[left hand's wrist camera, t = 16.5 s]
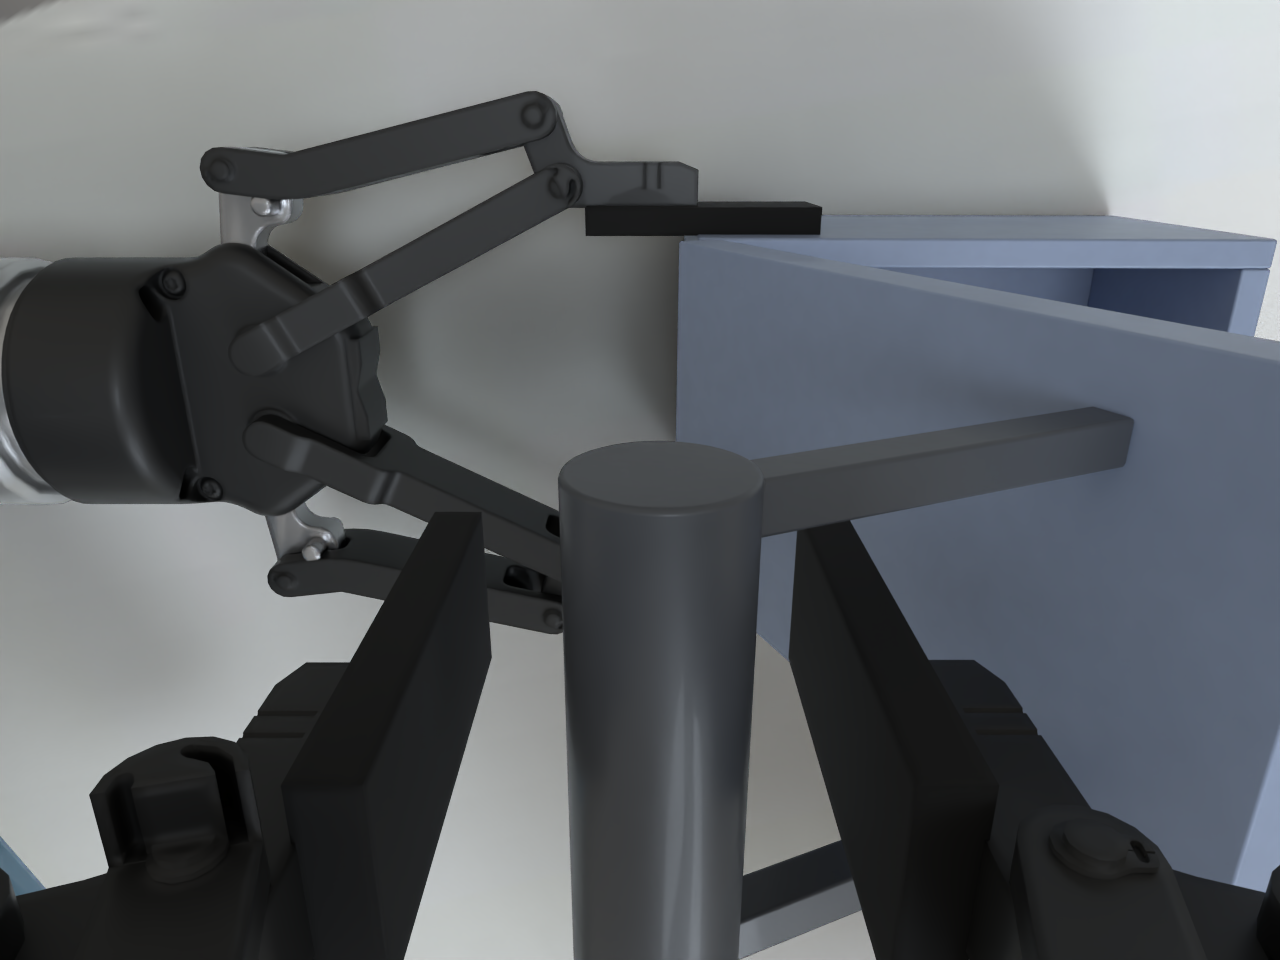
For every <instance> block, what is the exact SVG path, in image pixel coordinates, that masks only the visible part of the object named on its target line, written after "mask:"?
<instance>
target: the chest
mask: <svg viewBox="0 0 1280 960" xmlns="http://www.w3.org/2000/svg"><path fill="white" fill-rule="evenodd" d="M695 240H724V241H730V242H735V243H741V244H746V245H752V246H757V247H763V248H768V249H774V250H779V251H785V252H790V253H795V254H801V255H806V256H812V257H817V258H823V259H828V260H834V261H839V262H845V263H850V264H856V265H861V266H867V267H872V268H878V269H883V270H889V271H894V272H900V273H905V274H911V275H916V276H922V277H927V278H933V279H938V280H944V281H949V282H955V283H960V284H966V285H971V286H977V287H982V288H988V289H993V290H999V291H1004V292H1010V293H1015V294H1021V295H1026V296H1032V297H1037V298H1043V299H1048V300H1054V301H1059V302H1065V303H1070V304H1076V305H1081V306H1087V307H1092V308H1098V309H1103V310H1109V311H1114V312H1120V313H1125V314H1131V315H1136V316H1142V317H1147V318H1153V319H1158V320H1164V321H1169V322H1175V323H1180V324H1186V325H1191V326H1197V327H1202V328H1208V329H1213V330H1219V331H1224V332H1230V333H1235V334H1241V335H1246V336H1252V337H1254V334H1255V330H1256V326H1257V322H1258V318H1259V314H1260V310H1261V306H1262V302H1263V298H1264V294H1265V290H1266V285H1267V281H1268V277H1269V273H1270V270H1269V269H1267V268H1270V267H1271V264H1272V260H1273V256H1274V252H1275V248H1276V244H1277V241H1276V240H1275V239H1270V238H1263V237H1257V236H1250V235H1243V234H1236V233H1229V232H1222V231H1215V230H1208V229H1201V228H1194V227H1187V226H1181V225H1174V224H1167V223H1160V222H1153V221H1146V220H1139V219H1132V218H1125V217H1118V216H1024V215H822V217H821V232H820V235H697V236H684V241H695Z"/></svg>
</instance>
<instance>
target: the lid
mask: <svg viewBox="0 0 1280 960" xmlns="http://www.w3.org/2000/svg"><path fill="white" fill-rule="evenodd" d="M558 490H559V521H560V551H561V582H562V613H563V643H564V674H565V705H566V735H567V766H568V796H569V827H570V858H571V888H572V919H573V950H574V960H740V959H742V958H745V957H747V956H749V955H752V954H754V953H757V952H759V951H762V950H764V949H767V948H769V947H772V946H774V945H777V944H779V943H781V942H784V941H786V940H789V939H791V938H794V937H796V936H799V935H801V934H804V933H806V932H808V931H811V930H813V929H816V928H818V927H821V926H823V925H826V924H828V923H831V922H833V921H836V920H838V919H840V918H843V917H845V916H848V915H850V914H853V913H855V912H858V911H860V910H862V909H861V905H860V902H859V898H858V895H857V891H856V888H855V885H854V881H853V878H852V874H851V871H850V867H849V864H848V861H847V857H846V854H845V850H844V847H843V843H842V840H840V841H837V842H834V843H832V844H829V845H826V846H824V847H821V848H818V849H815V850H813V851H810V852H807V853H804V854H802V855H799V856H796V857H793V858H791V859H788V860H785V861H782V862H780V863H777V864H774V865H771V866H769V867H766V868H763V869H761V870H758V871H755V872H752V873H750V874H747V875H744V876H743V866H744V848H745V829H746V811H747V793H748V775H749V757H750V738H751V720H752V702H753V684H754V666H755V648H756V633H758V634H759V635H760V636H761V637H762V638H763V639H764V640H765V641H767V642H768V643H769V644H770V645H771V646H772V647H773V648H774V649H776V650H777V651H778V652H779V653H780V654H781V655H782V656H783V657H784V658H786V659H787V660H788V661H789V658H788V656H789V641H790V626H791V612H792V597H793V582H794V568H795V553H796V538H797V531H799V530H804V529H809V528H814V527H819V526H824V525H829V524H834V523H839V522H844V521H851V523H852V525H853V527H854V528H855V530H856V532H857V534H858V536H859V537H860V539H861V541H862V543H863V544H864V546H865V548H866V550H867V551H868V553H869V555H870V557H871V559H872V560H873V562H874V564H875V566H876V567H877V569H878V571H879V573H880V575H881V576H882V578H883V580H884V582H885V583H886V585H887V587H888V589H889V590H890V592H891V594H892V596H893V598H894V599H895V601H896V603H897V605H898V606H899V608H900V610H901V612H902V614H903V615H904V617H905V619H906V621H907V622H908V624H909V626H910V628H911V630H912V631H913V633H914V635H915V637H916V638H917V640H918V642H919V644H920V645H921V647H922V649H923V651H924V653H925V654H926V656H927V658H928V660H975V661H976V662H978V663H979V664H981V665H982V666H983V667H985V668H986V669H987V670H989V671H990V672H992V673H993V674H994V675H996V676H997V677H999V678H1000V679H1001V680H1003V681H1004V682H1005V683H1006V684H1007V686H1008V687H1009V689H1010V690H1011V692H1012V693H1013V695H1014V696H1015V697H1016V699H1017V700H1018V702H1019V703H1020V705H1021V706H1022V708H1023V713H1026V714H1027V715H1028V717H1029V718H1030V719H1031V721H1032V722H1033V724H1034V725H1035V727H1036V728H1037V733H1038V735H1041V736H1042V737H1043V738H1044V740H1045V741H1046V743H1047V744H1048V746H1049V747H1050V749H1051V750H1052V752H1053V753H1054V755H1055V756H1056V757H1057V759H1058V760H1059V762H1060V763H1061V765H1062V766H1063V768H1064V769H1065V771H1066V772H1067V774H1068V775H1069V777H1070V778H1071V779H1072V781H1073V782H1074V784H1075V785H1076V787H1077V788H1078V790H1079V791H1080V793H1081V794H1082V796H1083V797H1084V798H1085V800H1086V801H1087V803H1088V804H1089V806H1090V807H1091V809H1094V810H1097V811H1101V812H1105V813H1108V814H1110V815H1112V816H1114V817H1116V818H1118V819H1120V820H1122V821H1124V822H1126V823H1128V824H1130V825H1131V826H1133V827H1135V828H1137V829H1138V830H1139V831H1140V832H1141V833H1143V834H1144V835H1145V836H1146V837H1147V838H1149V839H1150V840H1151V841H1152V842H1153V843H1155V844H1156V845H1157V846H1158V847H1159V849H1160V850H1161V852H1162V853H1163V855H1164V856H1165V858H1166V860H1167V861H1168V863H1169V864H1170V866H1171V867H1172V869H1173V870H1177V871H1180V872H1183V873H1186V874H1190V875H1193V876H1196V877H1201V878H1205V879H1209V880H1214V881H1218V882H1222V883H1227V884H1231V885H1235V886H1239V887H1244V888H1248V889H1252V890H1257V891H1261V892H1266V889H1267V886H1268V883H1269V880H1270V877H1271V874H1272V871H1273V870H1274V869H1276V868H1277V867H1278V866H1279V865H1280V342H1279V341H1273V340H1268V339H1262V338H1257V337H1252V336H1246V335H1241V334H1235V333H1230V332H1224V331H1219V330H1213V329H1208V328H1202V327H1197V326H1191V325H1186V324H1180V323H1175V322H1169V321H1164V320H1158V319H1153V318H1147V317H1142V316H1136V315H1131V314H1125V313H1120V312H1114V311H1109V310H1103V309H1098V308H1092V307H1087V306H1081V305H1076V304H1070V303H1065V302H1059V301H1054V300H1048V299H1043V298H1037V297H1032V296H1026V295H1021V294H1015V293H1010V292H1004V291H999V290H993V289H988V288H982V287H977V286H971V285H966V284H960V283H955V282H949V281H944V280H938V279H933V278H927V277H922V276H916V275H911V274H905V273H900V272H894V271H889V270H883V269H878V268H872V267H867V266H861V265H856V264H850V263H845V262H839V261H834V260H828V259H823V258H817V257H812V256H806V255H801V254H795V253H790V252H785V251H779V250H774V249H768V248H763V247H757V246H752V245H746V244H741V243H735V242H730V241H724V240H695V241H681V242H680V243H679V291H678V350H677V408H676V442H675V441H642V442H630V443H622V444H616V445H611V446H606V447H602V448H598V449H594V450H591V451H588V452H585V453H583V454H581V455H578V456H576V457H575V458H573V459H571V460H570V461H568V462H567V463H566V464H565V465H564V466H563V468H562V469H561V472H560V474H559V477H558ZM789 662H790V661H789Z"/></svg>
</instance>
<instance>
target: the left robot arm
mask: <svg viewBox="0 0 1280 960" xmlns="http://www.w3.org/2000/svg"><path fill="white" fill-rule="evenodd" d="M491 658H492V656H491V641H490V626H489V612H488V597H487V582H486V568H485V553H484V538H483V524H482V512H434V514H433V516H432V518H431V520H430V521H429V523H428V525H427V527H426V528H425V530H424V532H423V534H422V536H421V537H420V539H419V541H418V543H417V544H416V546H415V548H414V550H413V551H412V553H411V555H410V557H409V559H408V560H407V562H406V564H405V566H404V567H403V569H402V571H401V573H400V575H399V576H398V578H397V580H396V582H395V583H394V585H393V587H392V589H391V590H390V592H389V594H388V596H387V598H386V599H385V601H384V603H383V605H382V606H381V608H380V610H379V612H378V614H377V615H376V617H375V619H374V621H373V622H372V624H371V626H370V628H369V630H368V631H367V633H366V635H365V637H364V638H363V640H362V642H361V644H360V645H359V647H358V649H357V651H356V653H355V654H354V656H353V658H352V660H351V661H350V663H305V664H304V665H302V666H301V667H300V668H298V669H297V670H295V671H294V672H293V673H291V674H290V675H288V676H287V677H286V678H284V679H283V680H282V681H280V682H279V683H277V684H276V685H275V686H274V688H273V689H272V691H271V692H270V694H269V695H268V697H267V698H266V700H265V701H264V703H263V704H262V706H261V707H260V708H259V710H258V715H257V716H254V717H253V719H252V720H251V722H250V723H249V725H248V726H247V728H246V729H245V731H244V732H243V738H239V739H238V741H237V742H236V743H235V742H233V741H229V740H225V739H221V738H217V737H191V738H183V739H179V740H175V741H171V742H167V743H163V744H159V745H155V746H153V747H151V748H149V749H147V750H144V751H142V752H140V753H138V754H136V755H133V756H131V757H129V758H127V759H126V760H124V761H123V762H122V763H120V764H119V765H117V766H116V767H115V768H113V769H112V770H111V771H109V772H108V773H107V774H105V775H104V776H103V777H102V779H101V780H100V781H99V783H98V784H97V785H96V787H95V788H94V789H93V790H92V792H91V793H90V794H89V796H90V799H91V803H92V807H93V810H94V814H95V818H96V822H97V825H98V829H99V833H100V836H101V840H102V844H103V847H104V851H105V855H106V859H107V862H108V866H109V869H108V872H107V873H106V874H103V875H99V876H96V877H93V878H89V879H86V880H83V881H78V882H74V883H70V884H65V885H61V886H57V887H52V888H48V889H44V890H39V891H35V892H31V893H27V894H22V895H18V896H15V892H14V889H13V886H12V883H11V880H10V877H9V875H8V874H7V873H6V872H5V871H4V870H2V869H1V868H0V960H404V957H405V953H406V950H407V946H408V943H409V940H410V936H411V933H412V929H413V926H414V922H415V919H416V916H417V912H418V909H419V905H420V902H421V898H422V895H423V891H424V888H425V885H426V881H427V878H428V874H429V871H430V867H431V864H432V861H433V857H434V854H435V850H436V847H437V843H438V840H439V837H440V833H441V830H442V826H443V823H444V819H445V816H446V812H447V809H448V806H449V802H450V799H451V795H452V792H453V788H454V785H455V782H456V778H457V775H458V771H459V768H460V764H461V761H462V758H463V754H464V751H465V747H466V744H467V740H468V737H469V733H470V730H471V727H472V723H473V720H474V716H475V713H476V709H477V706H478V703H479V699H480V696H481V692H482V689H483V685H484V682H485V679H486V675H487V672H488V668H489V665H490V661H491ZM788 658H789V661H790V665H791V668H792V672H793V675H794V679H795V682H796V685H797V689H798V692H799V696H800V699H801V703H802V706H803V709H804V713H805V716H806V720H807V723H808V727H809V730H810V734H811V737H812V740H813V744H814V747H815V751H816V754H817V758H818V761H819V764H820V768H821V771H822V775H823V778H824V782H825V785H826V788H827V792H828V795H829V799H830V802H831V806H832V809H833V813H834V816H835V819H836V823H837V826H838V830H839V833H840V837H841V840H842V843H843V847H844V850H845V854H846V857H847V861H848V864H849V867H850V871H851V874H852V878H853V881H854V885H855V888H856V891H857V895H858V898H859V902H860V905H861V909H862V912H863V916H864V919H865V922H866V926H867V929H868V933H869V936H870V940H871V943H872V946H873V950H874V953H875V957H876V960H1280V865H1279V866H1278V867H1277V868H1276V869H1274V870H1273V871H1272V874H1271V877H1270V880H1269V883H1268V886H1267V889H1266V892H1261V891H1257V890H1252V889H1248V888H1244V887H1239V886H1235V885H1231V884H1227V883H1222V882H1218V881H1214V880H1209V879H1205V878H1201V877H1196V876H1193V875H1190V874H1186V873H1183V872H1180V871H1177V870H1173V869H1172V867H1171V866H1170V864H1169V863H1168V861H1167V860H1166V858H1165V856H1164V855H1163V853H1162V852H1161V850H1160V849H1159V847H1158V846H1157V845H1156V844H1155V843H1153V842H1152V841H1151V840H1150V839H1149V838H1147V837H1146V836H1145V835H1144V834H1143V833H1141V832H1140V831H1139V830H1138V829H1137V828H1135V827H1133V826H1131V825H1130V824H1128V823H1126V822H1124V821H1122V820H1120V819H1118V818H1116V817H1114V816H1112V815H1110V814H1108V813H1105V812H1101V811H1097V810H1094V809H1091V807H1090V806H1089V804H1088V803H1087V801H1086V800H1085V798H1084V797H1083V796H1082V794H1081V793H1080V791H1079V790H1078V788H1077V787H1076V785H1075V784H1074V782H1073V781H1072V779H1071V778H1070V777H1069V775H1068V774H1067V772H1066V771H1065V769H1064V768H1063V766H1062V765H1061V763H1060V762H1059V760H1058V759H1057V757H1056V756H1055V755H1054V753H1053V752H1052V750H1051V749H1050V747H1049V746H1048V744H1047V743H1046V741H1045V740H1044V738H1043V737H1042V736H1041V735H1038V733H1037V728H1036V727H1035V725H1034V724H1033V722H1032V721H1031V719H1030V718H1029V717H1028V715H1027V714H1026V713H1023V708H1022V706H1021V705H1020V703H1019V702H1018V700H1017V699H1016V697H1015V696H1014V695H1013V693H1012V692H1011V690H1010V689H1009V687H1008V686H1007V684H1006V683H1005V682H1004V681H1003V680H1001V679H1000V678H999V677H997V676H996V675H994V674H993V673H992V672H990V671H989V670H987V669H986V668H985V667H983V666H982V665H981V664H979V663H978V662H976V661H975V660H928V658H927V656H926V654H925V653H924V651H923V649H922V647H921V645H920V644H919V642H918V640H917V638H916V637H915V635H914V633H913V631H912V630H911V628H910V626H909V624H908V622H907V621H906V619H905V617H904V615H903V614H902V612H901V610H900V608H899V606H898V605H897V603H896V601H895V599H894V598H893V596H892V594H891V592H890V590H889V589H888V587H887V585H886V583H885V582H884V580H883V578H882V576H881V575H880V573H879V571H878V569H877V567H876V566H875V564H874V562H873V560H872V559H871V557H870V555H869V553H868V551H867V550H866V548H865V546H864V544H863V543H862V541H861V539H860V537H859V536H858V534H857V532H856V530H855V528H854V527H853V525H852V523H851V521H844V522H839V523H834V524H829V525H824V526H819V527H814V528H809V529H804V530H799V531H797V538H796V553H795V568H794V582H793V597H792V612H791V626H790V641H789V656H788Z"/></svg>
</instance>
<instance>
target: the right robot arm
mask: <svg viewBox="0 0 1280 960" xmlns="http://www.w3.org/2000/svg"><path fill="white" fill-rule="evenodd" d="M522 146H524V148H525V150H526V153H527V156H528V158H529V161H530V163H531V166H532V169H533V171H534V174H533V175H531V176H529V177H528V178H526V179H524V180H522V181H520V182H519V183H517V184H515V185H513V186H511V187H509V188H508V189H506V190H504V191H502V192H500V193H499V194H497V195H495V196H493V197H491V198H489V199H488V200H486V201H484V202H482V203H480V204H479V205H477V206H475V207H473V208H471V209H470V210H468V211H466V212H464V213H462V214H460V215H459V216H457V217H455V218H453V219H451V220H450V221H448V222H446V223H444V224H442V225H441V226H439V227H437V228H435V229H433V230H431V231H430V232H428V233H426V234H424V235H422V236H421V237H419V238H417V239H415V240H413V241H412V242H410V243H408V244H406V245H404V246H402V247H401V248H399V249H397V250H395V251H393V252H392V253H390V254H388V255H386V256H384V257H382V258H381V259H379V260H377V261H375V262H373V263H372V264H370V265H368V266H366V267H364V268H363V269H361V270H359V271H357V272H355V273H353V274H351V275H349V276H347V277H345V278H343V279H342V280H340V281H338V282H336V283H334V284H332V285H331V286H329V285H328V284H326V283H325V282H323V281H322V280H320V279H319V278H317V277H316V276H314V275H313V274H311V273H310V272H308V271H307V270H305V269H304V268H302V267H301V266H299V265H298V264H296V263H295V262H293V261H292V260H290V259H289V258H288V257H286V256H285V255H283V254H282V253H280V252H279V251H277V250H276V249H274V248H273V247H271V246H269V245H268V237H269V234H270V232H271V231H272V230H273V229H274V228H275V227H276V226H278V225H282V224H287V223H292V222H294V221H295V220H297V219H298V218H299V217H300V215H301V213H302V211H303V198H310V197H316V196H323V195H329V194H335V193H340V192H345V191H349V190H353V189H357V188H361V187H365V186H369V185H372V184H376V183H380V182H384V181H388V180H392V179H396V178H400V177H404V176H408V175H412V174H416V173H420V172H423V171H427V170H431V169H435V168H439V167H443V166H447V165H451V164H455V163H459V162H463V161H467V160H471V159H474V158H478V157H482V156H486V155H490V154H494V153H498V152H502V151H506V150H510V149H514V148H518V147H522ZM200 171H201V175H202V178H203V179H204V181H205V182H206V184H207V185H208V186H209V187H210V188H212V189H213V190H214V191H217V192H219V207H220V228H221V244H220V245H217V246H215V247H213V248H212V249H210V250H209V251H207V252H206V253H204V254H202V255H201V256H198V257H191V258H65V259H62V260H58V261H55V262H54V263H53V262H50V261H46V260H43V259H39V258H0V504H29V505H50V504H60V503H66V502H68V501H70V500H73V501H76V502H80V503H85V504H192V503H206V502H228V503H232V504H236V505H239V506H241V507H244V508H246V509H248V510H250V511H252V512H254V513H257V514H260V515H264V516H265V517H266V521H267V524H268V527H269V531H270V534H271V538H272V541H273V545H274V548H275V551H276V555H277V559H278V561H277V563H276V564H275V565H274V566H273V567H272V568H271V569H270V571H269V573H268V576H267V577H268V584H269V585H270V587H271V589H272V590H273V591H274V592H275V593H277V594H279V595H281V596H283V597H296V596H306V595H315V594H324V593H333V592H346V593H351V594H356V595H361V596H366V597H370V598H375V599H380V600H385V599H386V598H387V596H388V594H389V592H390V590H391V589H392V587H393V585H394V583H395V582H396V580H397V578H398V576H399V575H400V573H401V571H402V569H403V567H404V566H405V564H406V562H407V560H408V559H409V557H410V555H411V553H412V551H413V550H414V548H415V546H416V544H417V543H418V541H419V539H415V538H411V537H406V536H401V535H396V534H392V533H387V532H382V531H376V530H369V529H344V528H343V524H342V521H341V520H339V519H338V518H335V517H332V518H329V517H322V516H318V515H316V514H314V513H313V512H311V511H310V510H309V509H308V507H307V506H306V504H305V501H307V500H308V499H309V498H311V497H312V496H313V495H315V494H316V493H318V492H319V491H320V490H322V489H323V488H324V487H326V486H329V487H331V488H333V489H336V490H338V491H340V492H342V493H344V494H347V495H349V496H351V497H353V498H356V499H358V500H360V501H362V502H365V503H368V504H374V505H375V504H387V505H390V506H392V507H394V508H396V509H399V510H401V511H403V512H405V513H408V514H410V515H412V516H414V517H417V518H419V519H421V520H423V521H425V522H428V523H429V521H430V520H431V518H432V516H433V514H434V512H482V524H483V538H484V548H486V549H488V550H490V551H493V552H495V553H497V554H499V555H502V556H504V557H501V556H497V555H492V554H487V553H485V568H486V582H487V597H488V612H489V622H493V623H498V624H503V625H508V626H513V627H518V628H523V629H528V630H533V631H538V632H543V633H548V634H559V633H562V632H563V613H562V582H561V551H560V521H559V511H557V510H555V509H553V508H550V507H548V506H546V505H544V504H542V503H540V502H537V501H535V500H533V499H531V498H529V497H527V496H524V495H522V494H520V493H518V492H516V491H513V490H511V489H509V488H507V487H505V486H503V485H500V484H498V483H496V482H494V481H492V480H490V479H487V478H485V477H483V476H481V475H479V474H477V473H474V472H472V471H470V470H468V469H466V468H464V467H461V466H459V465H457V464H455V463H453V462H451V461H448V460H446V459H444V458H442V457H440V456H438V455H435V454H433V453H431V452H429V451H427V450H425V449H422V448H421V447H419V446H418V445H416V443H415V441H414V440H413V439H412V438H411V437H409V436H407V435H405V434H403V433H401V432H399V431H397V430H395V429H393V428H390V427H388V426H386V425H384V424H385V423H386V422H387V421H388V420H387V411H386V401H385V397H384V394H383V391H382V389H381V386H380V384H379V381H378V378H377V375H376V372H377V366H378V360H379V354H380V344H379V335H378V326H371V324H370V321H369V320H368V318H367V317H368V316H370V315H372V314H373V313H375V312H377V311H379V310H380V309H382V308H384V307H386V306H388V305H389V304H391V303H393V302H395V301H397V300H399V299H401V298H402V297H404V296H406V295H408V294H410V293H412V292H414V291H415V290H417V289H419V288H421V287H423V286H425V285H426V284H428V283H430V282H432V281H434V280H436V279H438V278H439V277H441V276H443V275H445V274H447V273H449V272H451V271H452V270H454V269H456V268H458V267H460V266H462V265H463V264H465V263H467V262H469V261H471V260H473V259H475V258H476V257H478V256H480V255H482V254H484V253H486V252H488V251H489V250H491V249H493V248H495V247H497V246H499V245H500V244H502V243H504V242H506V241H508V240H510V239H512V238H513V237H515V236H517V235H519V234H521V233H523V232H525V231H526V230H528V229H530V228H532V227H534V226H536V225H537V224H539V223H541V222H543V221H545V220H547V219H549V218H550V217H552V216H554V215H556V214H558V213H560V212H562V211H563V210H565V209H567V208H585V225H586V236H697V235H820V232H821V217H822V207H820V206H817V205H814V204H811V203H808V202H698V170H697V169H695V168H693V167H690V166H688V165H686V164H683V163H681V162H597V161H591V160H589V159H586V158H585V157H583V156H582V155H581V154H580V153H579V152H578V151H577V150H576V148H575V146H574V144H573V142H572V140H571V137H570V134H569V132H568V129H567V126H566V123H565V121H564V118H563V113H562V110H561V108H560V106H559V105H558V104H557V103H556V102H555V101H554V100H553V99H552V98H550V97H548V96H547V95H545V94H543V93H540V92H537V91H528V92H524V93H520V94H516V95H512V96H508V97H504V98H501V99H497V100H493V101H489V102H485V103H481V104H478V105H474V106H470V107H466V108H462V109H458V110H454V111H451V112H447V113H443V114H439V115H435V116H431V117H428V118H424V119H420V120H416V121H412V122H408V123H404V124H401V125H397V126H393V127H389V128H385V129H381V130H378V131H374V132H370V133H366V134H362V135H358V136H354V137H351V138H347V139H343V140H339V141H335V142H331V143H328V144H324V145H320V146H316V147H312V148H308V149H304V150H301V151H297V152H291V151H283V150H275V149H267V148H259V147H218V148H212V149H210V150H208V151H207V152H205V154H204V155H203V157H202V158H201V163H200ZM0 868H1V869H2V870H4V871H5V872H6V873H7V874H8V875H9V877H10V880H11V883H12V886H13V889H14V892H15V896H18V895H22V894H27V893H31V892H35V891H39V890H44V889H46V888H45V887H44V886H43V885H42V884H41V883H40V881H39V880H38V879H37V878H36V877H35V876H34V874H33V873H32V872H31V871H30V870H29V869H28V868H27V866H26V865H25V864H24V863H23V862H22V861H21V859H20V858H19V857H18V856H17V855H16V854H15V853H14V851H13V850H12V849H11V848H10V847H9V846H8V845H7V843H6V842H5V841H4V840H3V839H2V838H1V836H0Z"/></svg>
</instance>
